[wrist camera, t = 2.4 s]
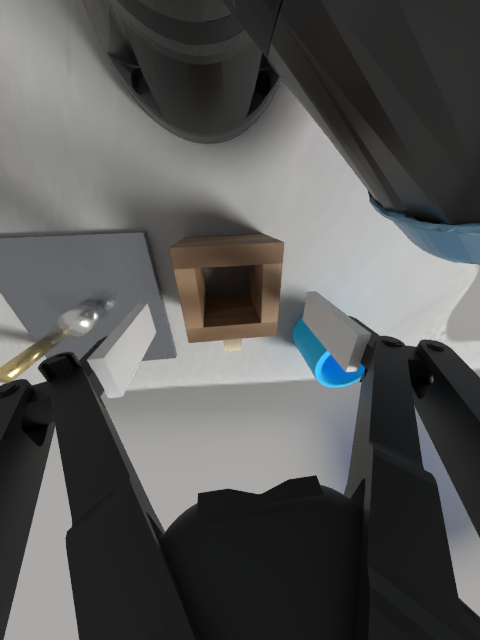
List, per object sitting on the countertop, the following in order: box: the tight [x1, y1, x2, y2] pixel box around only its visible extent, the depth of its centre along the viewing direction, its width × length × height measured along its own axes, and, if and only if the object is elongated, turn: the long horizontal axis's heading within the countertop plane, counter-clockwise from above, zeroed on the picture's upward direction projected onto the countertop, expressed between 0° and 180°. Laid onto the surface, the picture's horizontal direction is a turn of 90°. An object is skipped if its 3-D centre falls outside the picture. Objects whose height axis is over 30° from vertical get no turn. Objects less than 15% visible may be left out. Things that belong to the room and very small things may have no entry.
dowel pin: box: [0, 340, 53, 383], centre depth 23 cm, size 2×2×6 cm
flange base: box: [0, 232, 177, 361], centre depth 23 cm, size 18×18×4 cm
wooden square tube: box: [169, 234, 284, 351], centre depth 22 cm, size 14×10×8 cm
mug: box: [293, 317, 365, 387], centre depth 28 cm, size 12×8×8 cm
